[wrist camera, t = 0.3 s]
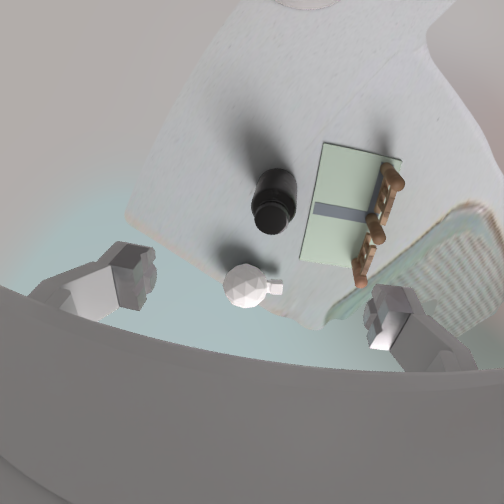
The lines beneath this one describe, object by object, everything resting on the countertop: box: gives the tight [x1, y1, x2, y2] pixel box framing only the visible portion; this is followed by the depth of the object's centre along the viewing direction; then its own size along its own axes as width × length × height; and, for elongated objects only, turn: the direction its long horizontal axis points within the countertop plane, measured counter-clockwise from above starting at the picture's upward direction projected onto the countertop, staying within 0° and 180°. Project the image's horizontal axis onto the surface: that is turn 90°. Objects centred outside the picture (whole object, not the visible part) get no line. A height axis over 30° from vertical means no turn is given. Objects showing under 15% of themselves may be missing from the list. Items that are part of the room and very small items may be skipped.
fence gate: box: [351, 232, 377, 288], centre depth 52 cm, size 9×2×6 cm, turn 175°
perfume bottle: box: [223, 263, 283, 308], centre depth 59 cm, size 9×9×12 cm
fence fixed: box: [365, 162, 405, 245], centre depth 45 cm, size 12×2×7 cm, turn 175°
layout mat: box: [299, 143, 402, 268], centre depth 51 cm, size 24×14×1 cm, turn 175°
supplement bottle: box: [251, 169, 297, 235], centre depth 45 cm, size 7×7×12 cm
